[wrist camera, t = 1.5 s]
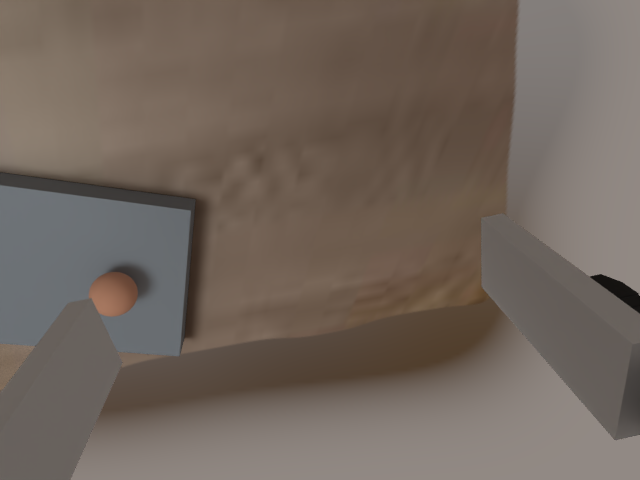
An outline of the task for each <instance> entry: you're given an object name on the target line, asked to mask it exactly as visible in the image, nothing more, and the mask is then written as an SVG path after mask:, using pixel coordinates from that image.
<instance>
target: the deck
mask: <svg viewBox="0 0 640 480" xmlns="http://www.w3.org/2000/svg"><path fill="white" fill-rule="evenodd" d="M195 200H196V199H189V198H182V197H175V196H168V195H160V194H153V193H146V192H139V191H131V190H124V189H117V188H110V187H102V186H95V185H88V184H81V183H73V182H66V181H59V180H52V179H44V178H37V177H30V176H23V175H15V174H8V173H1V172H0V343H1V344H16V345H30V346H36V345H37V344H38V342H39V341H40V340H41V338H42V337H43V336H44V334H45V333H46V332H47V330H48V329H49V328H50V326H51V325H52V324H53V322H54V321H55V320H56V318H57V317H58V316H59V314H60V313H61V312H62V310H63V309H64V308H65V306H66V305H67V304H68V303H70V302H75V301H80V300H85V299H89V290H90V287H91V285H92V283H93V282H94V281H95V280H96V279H97V278H98V277H99V276H101V275H103V274H105V273H109V272H120V273H124V274H126V275H128V276H129V277H131V278H132V279H133V281H134V282H135V284H136V286H137V289H138V297H137V300H136V303H135V304H134V306H133V307H132V308H131V309H130V310H129V311H128V312H126V313H125V314H122V315H120V316H113V317H110V316H104V315H102V314H100V313H99V315H100V317H101V319H102V321H103V323H104V325H105V327H106V329H107V331H108V333H109V335H110V338H111V340H112V342H113V344H114V346H115V348H116V350H117V352H128V353H142V354H156V355H170V356H180V353H181V349H182V345H183V341H184V336H185V323H186V311H187V299H188V286H189V274H190V262H191V249H192V237H193V225H194V212H195Z"/></svg>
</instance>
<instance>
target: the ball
mask: <svg viewBox="0 0 640 480" xmlns="http://www.w3.org/2000/svg"><path fill="white" fill-rule="evenodd" d="M137 297H138V289H137V286H136V284H135V282H134V281H133V279H132V278H131V277H129V276H128V275H126V274H124V273H120V272H109V273H105V274H103V275H101V276H99V277H98V278H97V279H96V280H95V281H94V282H93V283H92V285H91V287H90V290H89V298H92V300H93V302H94V304H95V306H96V308H97V311H98V313H100V314H102V315H104V316H110V317H113V316H120V315H122V314H125V313H126V312H128V311H129V310H130V309H131V308H132V307H133V306H134V304H135V303H136V300H137Z"/></svg>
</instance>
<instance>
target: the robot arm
mask: <svg viewBox="0 0 640 480" xmlns="http://www.w3.org/2000/svg"><path fill="white" fill-rule="evenodd" d="M481 257H482V288H483V289H484V290H485V291H486V292H487V294H488V295H489V296H490V297H491V298H492V299H493V300H494V302H495V303H496V304H497V305H498V306H499V307H500V309H501V310H502V311H503V312H504V313H505V314H506V315H507V317H508V318H509V319H510V320H511V321H512V322H513V323H514V325H515V326H516V327H517V328H518V329H519V330H520V332H521V333H522V334H523V335H524V336H525V337H526V339H527V340H528V341H529V342H530V343H531V344H532V345H533V347H534V348H535V349H536V350H537V351H538V352H539V353H540V355H541V356H542V357H543V358H544V359H545V360H546V362H548V364H549V365H550V366H551V367H552V368H553V369H554V371H555V372H556V373H557V374H558V375H559V376H560V378H562V380H563V381H564V382H565V383H566V385H567V386H568V387H569V388H570V389H571V390H572V391H573V392H574V394H575V395H576V396H577V397H578V398H579V400H581V402H582V403H583V404H584V405H585V406H586V407H587V409H588V410H589V411H590V412H591V413H592V414H593V416H594V417H595V418H596V419H597V420H598V421H599V422H600V423H601V425H602V426H603V427H604V428H605V429H606V431H607V432H608V433H609V434H610V435H611V436H612V437H613V439H614V440H618V439H623V438H627V437H632V436H636V435H640V296H639V295H638V293H637V292H636V291H634V290H632V289H631V288H630V287H628V286H627V285H625V284H624V283H622V282H620V281H617V280H615V279H612V278H610V277H607V276H604V275H602V274H600V275H595V276H591V277H589V276H588V275H586V274H585V273H584V272H582V271H581V270H580V269H578V268H577V267H575V266H574V265H573V264H571V263H570V262H569V261H567V260H566V259H565V258H563V257H562V256H561V255H559V254H558V253H556V252H555V251H554V250H552V249H551V248H550V247H548V246H547V245H546V244H544V243H543V242H541V241H540V240H539V239H537V238H536V237H535V236H533V235H532V234H531V233H529V232H528V231H526V230H525V229H524V228H522V227H521V226H520V225H518V224H517V223H516V222H514V221H513V220H511V219H510V218H509V217H508V216H506V215H505V214H498V215H493V216H488V217H483V218H481ZM122 363H123V362H122V360H121V358H120V356H119V354H118V352H117V350H116V348H115V346H114V344H113V342H112V340H111V338H110V335H109V333H108V331H107V329H106V327H105V325H104V323H103V321H102V319H101V317H100V315H99V313H98V311H97V308H96V306H95V304H94V302H93V300H92V298H89V299H85V300H80V301H75V302H70V303H68V304H67V305H66V306H65V308H64V309H63V310H62V312H61V313H60V314H59V316H58V317H57V318H56V320H55V321H54V322H53V324H52V325H51V326H50V328H49V329H48V330H47V332H46V333H45V334H44V336H43V337H42V338H41V340H40V341H39V342H38V344H37V345H36V346H35V348H34V349H33V350H32V352H31V353H30V354H29V356H28V357H27V358H26V360H25V361H24V362H23V364H22V365H21V366H20V368H19V369H18V370H17V372H16V373H15V374H14V376H13V377H12V378H11V379H10V381H9V382H8V383H7V385H6V386H5V387H4V389H3V390H2V391H1V393H0V480H70V479H71V477H72V475H73V472H74V470H75V468H76V466H77V463H78V461H79V459H80V457H81V455H82V452H83V450H84V448H85V446H86V443H87V441H88V439H89V437H90V434H91V432H92V430H93V427H94V425H95V423H96V421H97V419H98V416H99V414H100V412H101V410H102V407H103V405H104V403H105V400H106V398H107V396H108V394H109V392H110V389H111V387H112V385H113V383H114V380H115V378H116V376H117V374H118V372H119V369H120V367H121V365H122Z"/></svg>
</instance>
